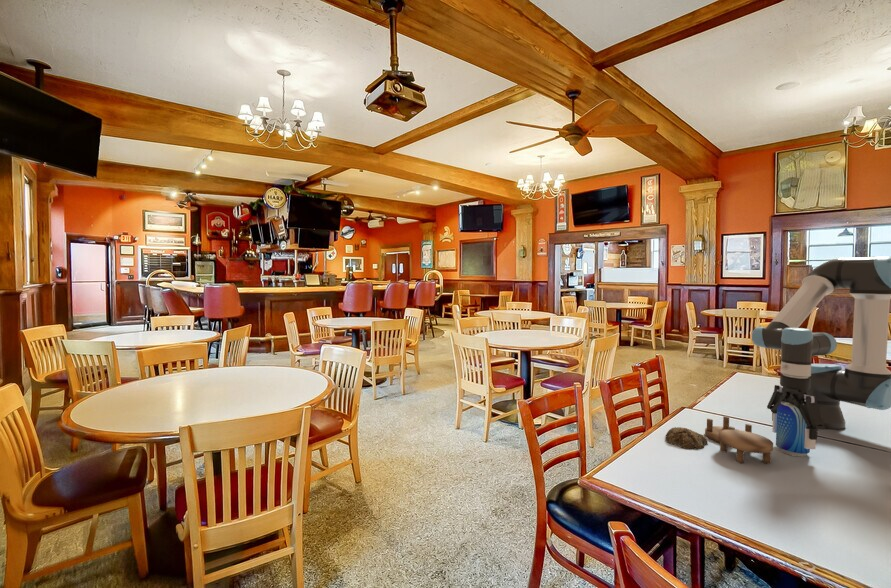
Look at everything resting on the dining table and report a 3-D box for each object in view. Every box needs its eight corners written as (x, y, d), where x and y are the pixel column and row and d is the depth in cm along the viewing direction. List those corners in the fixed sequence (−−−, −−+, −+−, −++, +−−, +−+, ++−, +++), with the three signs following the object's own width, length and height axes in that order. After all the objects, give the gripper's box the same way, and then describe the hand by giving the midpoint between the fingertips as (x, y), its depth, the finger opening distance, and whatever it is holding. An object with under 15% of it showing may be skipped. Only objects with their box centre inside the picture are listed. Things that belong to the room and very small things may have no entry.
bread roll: (671, 432, 148) (671, 419, 148) (710, 442, 139) (710, 428, 139) (659, 442, 139) (660, 428, 139) (700, 454, 130) (701, 439, 130)
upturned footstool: (724, 429, 150) (724, 413, 150) (763, 444, 137) (763, 427, 137) (695, 433, 146) (696, 417, 146) (733, 449, 133) (733, 431, 132)
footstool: (751, 447, 134) (751, 429, 134) (784, 467, 120) (785, 447, 120) (708, 446, 135) (709, 429, 135) (736, 466, 121) (737, 447, 121)
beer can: (816, 458, 126) (818, 409, 125) (785, 456, 128) (787, 407, 127) (798, 447, 134) (800, 400, 133) (770, 445, 136) (771, 399, 135)
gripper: (755, 366, 142) (753, 425, 143) (816, 385, 118) (813, 456, 119) (777, 366, 142) (775, 426, 143) (842, 386, 117) (839, 457, 118)
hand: (792, 440), depth 131 cm, fingers open, 12 cm apart
